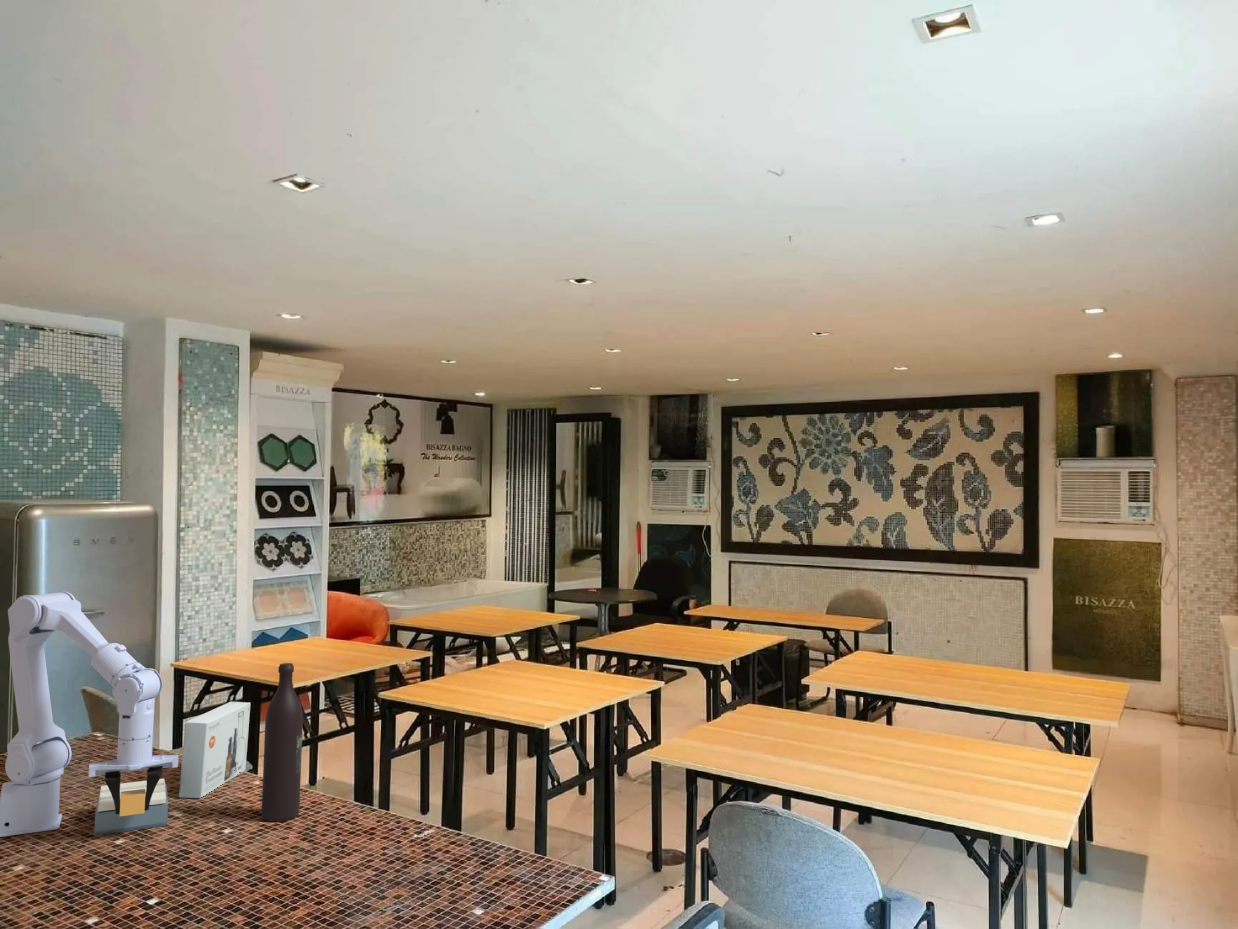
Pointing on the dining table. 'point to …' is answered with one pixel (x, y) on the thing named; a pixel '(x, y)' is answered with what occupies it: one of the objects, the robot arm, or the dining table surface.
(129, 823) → the tub
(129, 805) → the lid
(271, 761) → the wine bottle
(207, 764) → the skincare box
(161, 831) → the dining table surface
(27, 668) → the robot arm
